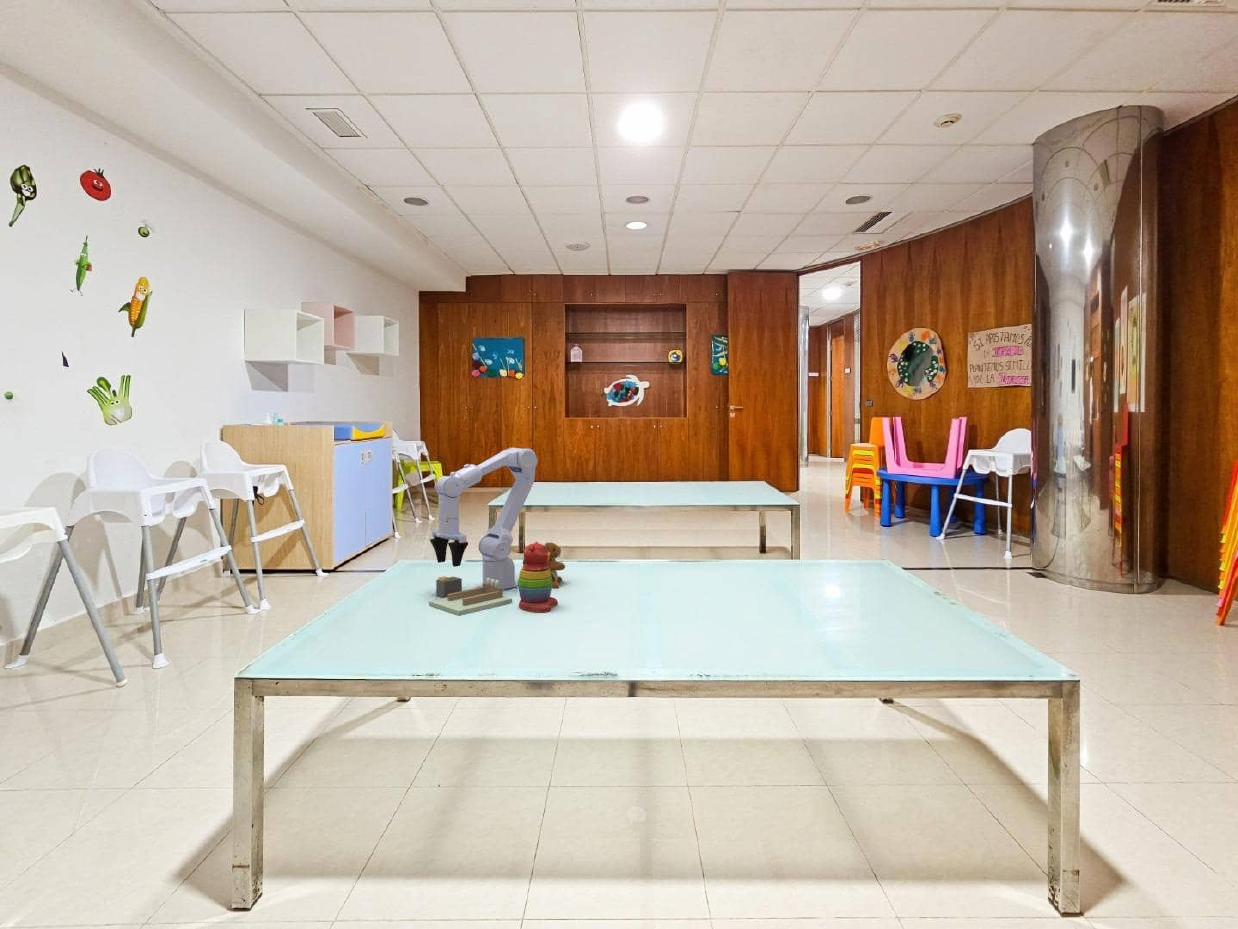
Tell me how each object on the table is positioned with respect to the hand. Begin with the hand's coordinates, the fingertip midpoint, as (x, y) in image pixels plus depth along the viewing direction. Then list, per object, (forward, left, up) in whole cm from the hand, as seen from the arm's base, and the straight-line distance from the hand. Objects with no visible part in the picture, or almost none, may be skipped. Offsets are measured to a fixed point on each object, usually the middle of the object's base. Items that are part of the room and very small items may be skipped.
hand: (449, 564), depth 203 cm
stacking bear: (-10, +27, -10) cm, 30 cm away
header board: (+1, +12, -9) cm, 15 cm away
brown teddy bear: (-29, +8, -10) cm, 32 cm away
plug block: (0, 0, -10) cm, 10 cm away
